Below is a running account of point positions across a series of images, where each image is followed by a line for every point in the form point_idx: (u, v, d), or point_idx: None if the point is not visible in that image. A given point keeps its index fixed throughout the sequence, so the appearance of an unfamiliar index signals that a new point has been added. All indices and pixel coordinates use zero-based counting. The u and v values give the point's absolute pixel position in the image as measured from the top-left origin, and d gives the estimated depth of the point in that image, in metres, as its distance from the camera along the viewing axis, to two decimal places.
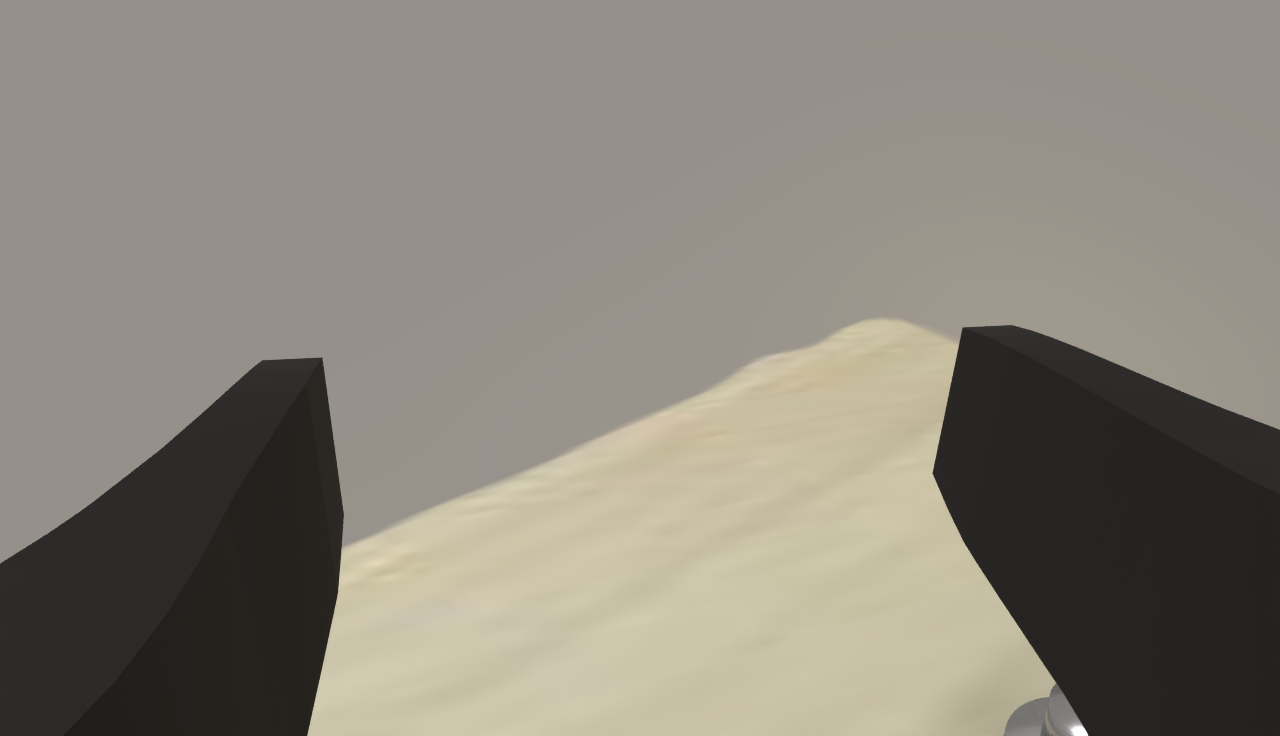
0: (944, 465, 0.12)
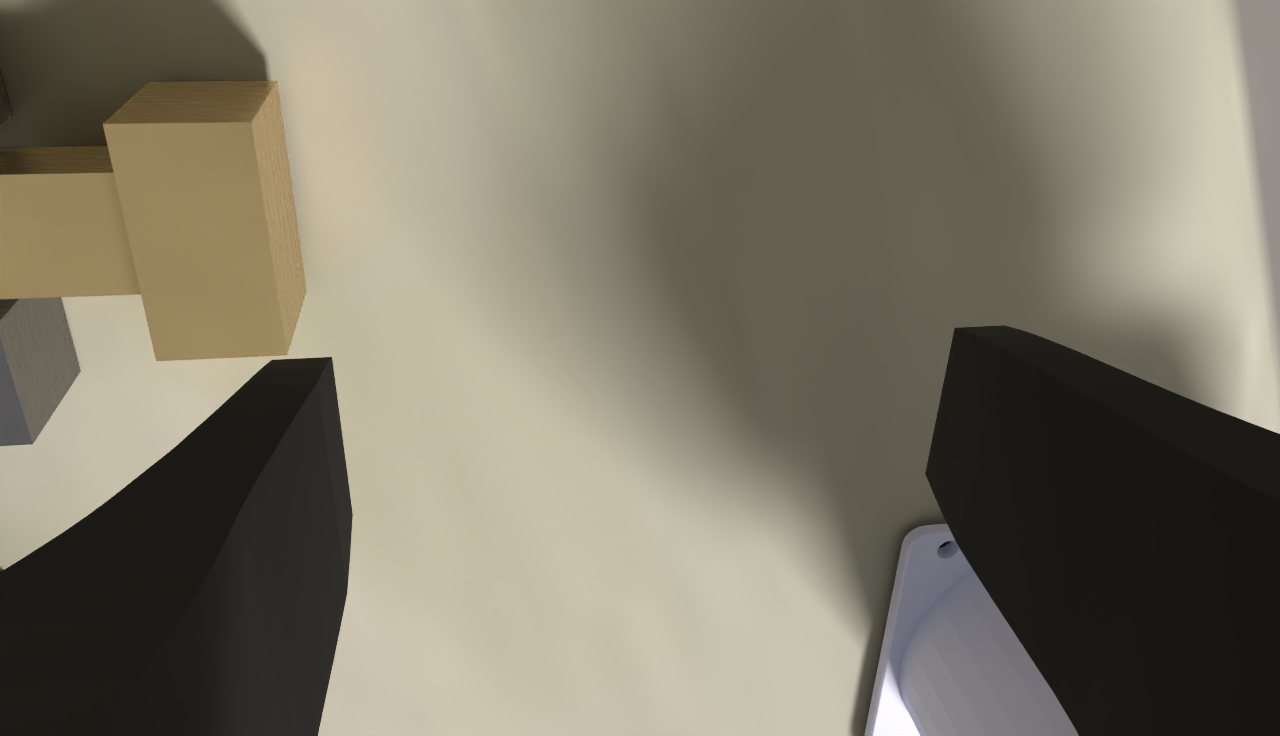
0: (937, 466, 0.12)
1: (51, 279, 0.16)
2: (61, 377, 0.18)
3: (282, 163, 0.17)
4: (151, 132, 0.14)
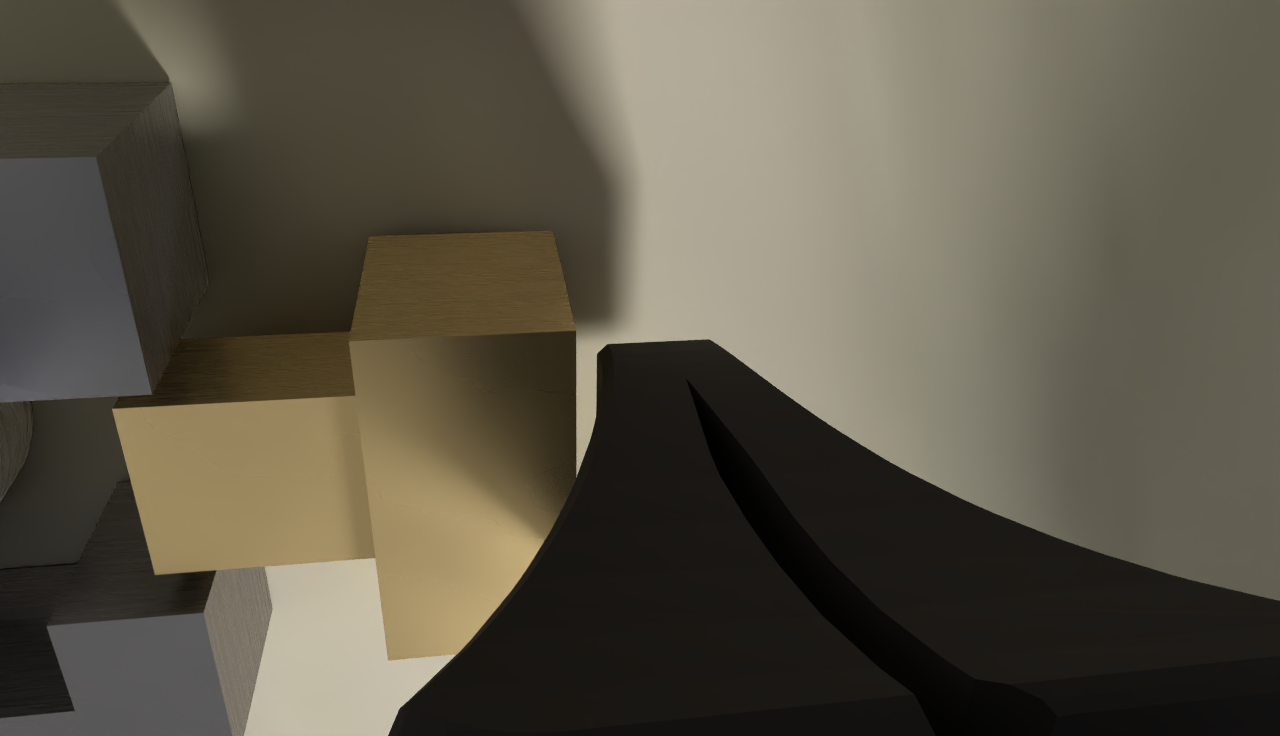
0: None
1: (235, 545, 0.10)
2: (258, 634, 0.13)
3: None
4: (422, 351, 0.09)
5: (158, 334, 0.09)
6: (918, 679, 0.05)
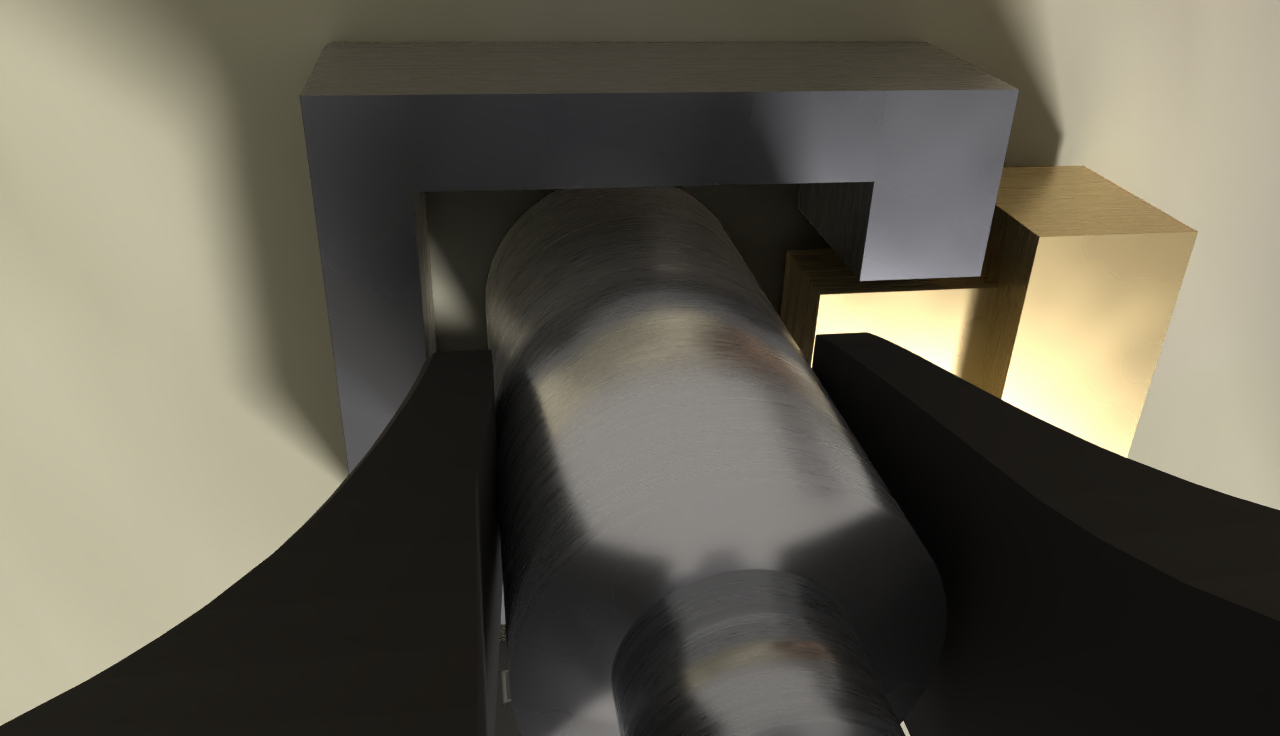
0: None
1: None
2: None
3: None
4: (1086, 246, 0.12)
5: None
6: (1245, 646, 0.05)
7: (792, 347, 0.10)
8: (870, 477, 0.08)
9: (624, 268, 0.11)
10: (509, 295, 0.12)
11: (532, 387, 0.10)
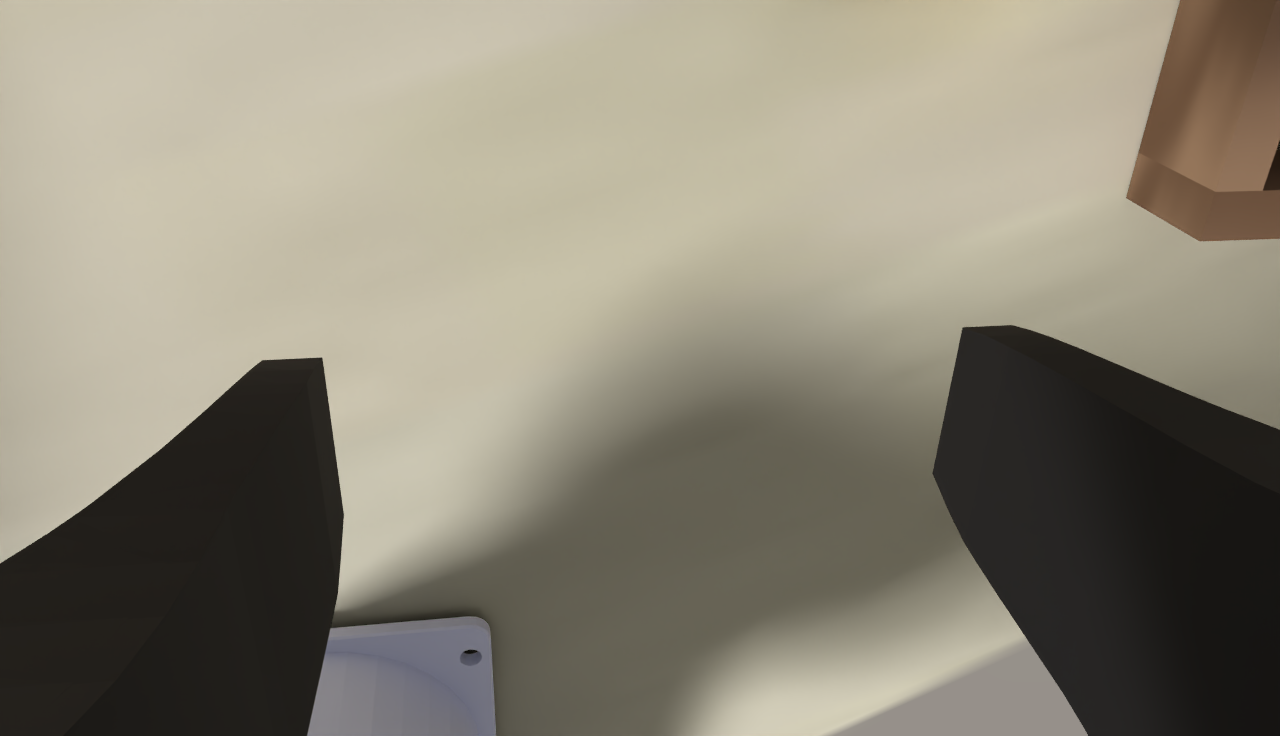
0: (944, 465, 0.12)
1: None
2: None
3: None
4: None
5: None
6: None
7: None
8: None
9: None
10: None
11: None
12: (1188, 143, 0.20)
